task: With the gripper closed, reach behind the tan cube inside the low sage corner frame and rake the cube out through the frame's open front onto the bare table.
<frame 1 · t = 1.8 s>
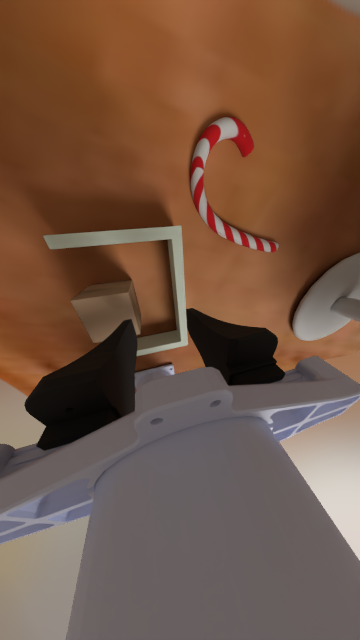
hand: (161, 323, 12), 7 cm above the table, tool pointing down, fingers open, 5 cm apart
tan cube: (117, 301, 18), on the table
candy cane: (241, 208, 16), on the table
sage corner frame: (133, 299, 18), on the table
candelabra: (327, 301, 28), on the table
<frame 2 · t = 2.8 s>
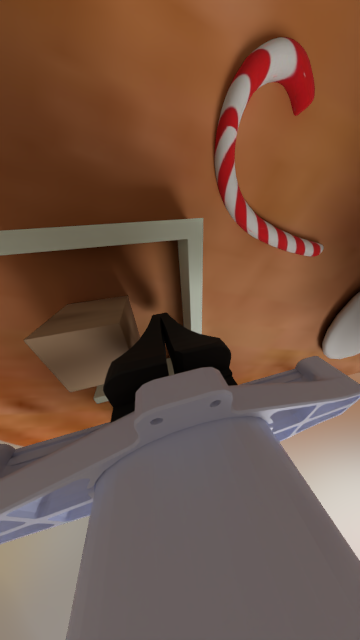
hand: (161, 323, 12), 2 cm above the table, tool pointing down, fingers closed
tan cube: (108, 323, 13), on the table
candy cane: (279, 197, 12), on the table
sage corner frame: (129, 320, 13), on the table
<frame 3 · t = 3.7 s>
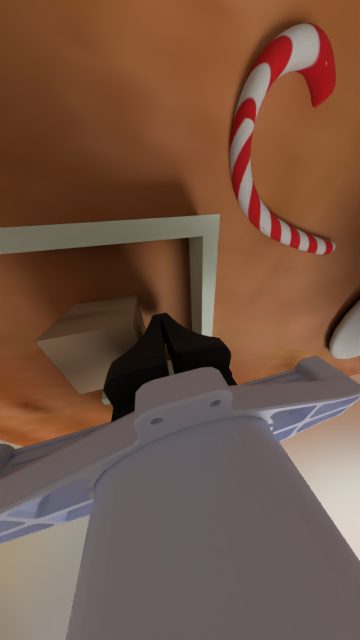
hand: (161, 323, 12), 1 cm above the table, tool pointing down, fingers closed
tan cube: (116, 323, 13), on the table, touching gripper
candy cane: (292, 193, 11), on the table
sage corner frame: (137, 320, 13), on the table
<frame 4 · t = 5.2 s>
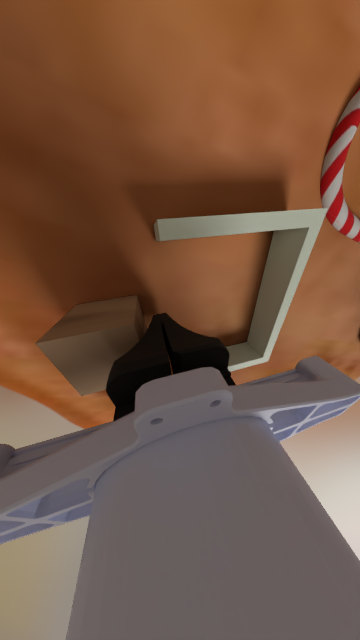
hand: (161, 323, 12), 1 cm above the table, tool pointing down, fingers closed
tan cube: (117, 323, 13), on the table, touching gripper
sage corner frame: (212, 306, 14), on the table
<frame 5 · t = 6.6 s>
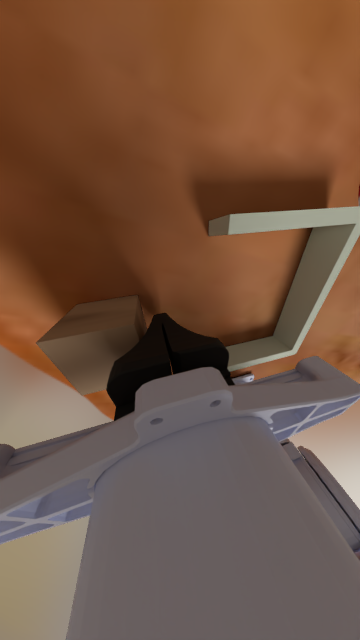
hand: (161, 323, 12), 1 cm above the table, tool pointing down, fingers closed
tan cube: (117, 323, 13), on the table, touching gripper
sage corner frame: (247, 300, 15), on the table
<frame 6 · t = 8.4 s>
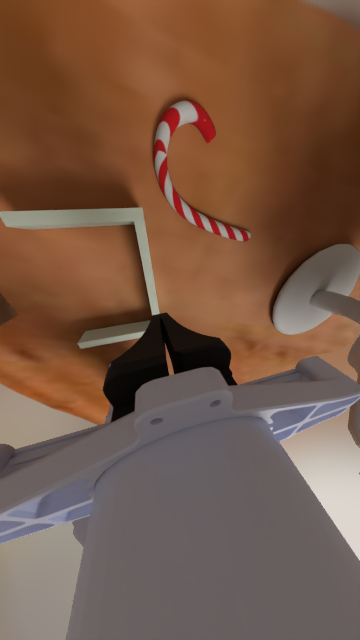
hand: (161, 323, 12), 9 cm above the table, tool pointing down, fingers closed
candy cane: (210, 196, 16), on the table
sage corner frame: (105, 285, 18), on the table
candelabra: (307, 295, 28), on the table
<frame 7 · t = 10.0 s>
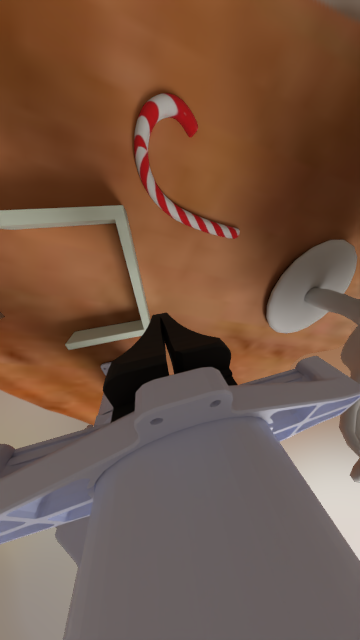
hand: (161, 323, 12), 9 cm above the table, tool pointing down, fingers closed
candy cane: (196, 192, 16), on the table
sage corner frame: (91, 285, 18), on the table
candelabra: (302, 292, 28), on the table
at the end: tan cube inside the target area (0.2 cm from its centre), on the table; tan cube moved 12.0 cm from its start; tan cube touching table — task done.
